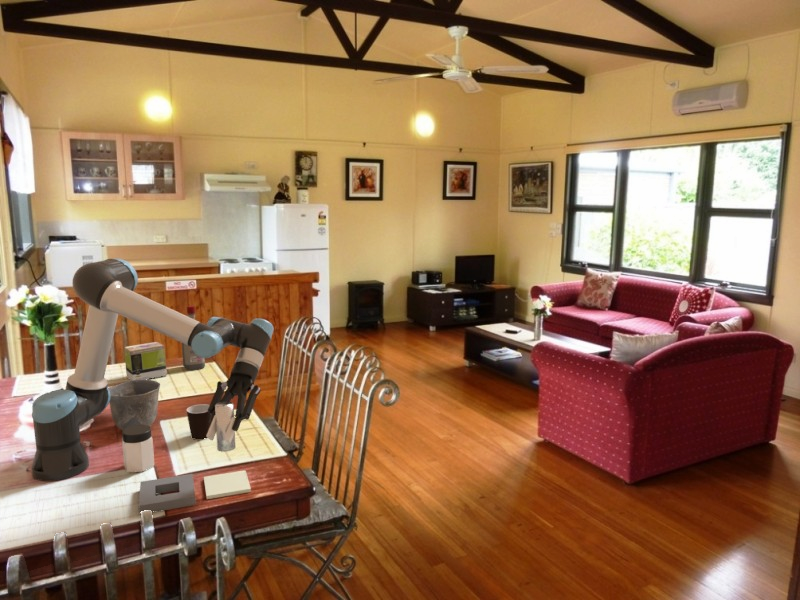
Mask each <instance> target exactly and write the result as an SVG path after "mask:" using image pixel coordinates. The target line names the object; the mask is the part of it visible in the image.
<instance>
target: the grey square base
mask: <svg viewBox="0 0 800 600" xmlns="http://www.w3.org/2000/svg"><path fill="white" fill-rule="evenodd" d="M139 485H140V486H139V500H138V501H139V502H138V514H139V513H140V512H141V511H144V510H151V511H152V513H156V512H155V511H157V512H162V511H161V510H163V511H169V510H174V509H180V508H186V507H192V506H196V491H195V482H194V474H193V473H188V474H183V475H177V476H171V477H169V476H168V477H163V478H156V479H150V480H145V481H144V480H143V481H140V484H139ZM174 491H175V492H174ZM177 491H179V492H177ZM171 492H172V493H171ZM156 493H159V495H157V494H156ZM164 493H166V494H164ZM160 494H161V495H160ZM153 511H154V512H153Z"/></svg>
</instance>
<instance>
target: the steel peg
mask: <svg viewBox="0 0 800 600" xmlns="http://www.w3.org/2000/svg"><path fill="white" fill-rule="evenodd" d="M215 414H216V447H217V448H216V449H217V451H219V452H221V453H222V452H223V453H225V452H230V451H233V450H235V449H236V431H235V432H234V435H233V438H232V440H231V443H228V442H227V441H226V440H225V439H224V437H225V435H226V432H227V430H228V427H229V424H230V422H231V419H232V417H235V416H234V415H235V410H234V403H233V402H232V401H230V402H220V403H217V404H216V405H215Z"/></svg>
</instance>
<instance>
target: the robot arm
mask: <svg viewBox="0 0 800 600" xmlns="http://www.w3.org/2000/svg"><path fill="white" fill-rule="evenodd" d="M138 280H139V277H138V273H137V270H135V268H134V266H133V265H132V264H131V263H130V262H129V261H127V260H125V259H122V258H107V259H105V260H99V261H95V262H90V263H89V262H88V263H86V264H83V265H81V266H80V267H79V268H78V269H77V270H76V271H75V273H74V274H73V276H72V289H73V292H74V293H75V295H76V296H77V297H78V298H79V299H80V300H81V301H82V302H83V303H85V304H88V309H87V313H86V319H85V324H84V329H83V332H82V337H81V341H80V346H79V352H78V354H77V355H78V356H77V359H76V364H75V365H76V366H75V369H74V373H72V374H71V375H69V376H68V377H67V380H66V384H65V385H66V386H65V389H56V390H52V391H51V392H46V393H43V394H41V395H39V396H38V397H37V398H35V400H34V401H33V403H32V407H31V409H32V411H31V412H32V413H31V416H32V421H33V430H34V431H33V432H34V439H35V441H34V442H35V453H34V457H33V461H32V464H31V476H32V478H33V479H35V480H38V481H45V482H46V481H47V482H51V481H61V480H64V479H69V478H73V477H74V476H77V475H79V474H81V473H83V472H85V471H86V470H87V469H89V466H90V461H89V456H88V453H87V452H86V450H85V447H84V446H83V444H82V441H81V433H80V430H81V429H80V427H81V426H82V425H84V424H86V423H87V422H89V421H91V420H93V419H95V417H98V416H99V415H100V414H102V413H103V412H104V410H105V409H106V408H107V407H108V406H109V405H110V390H108V388H109V387H108V385H109V384H108V383H109V382H108V380H107V379H106V378H105V376H106V375H105V374H106V369H107V365H108V361H109V357H110V352H111V347H112V344H113V340H114V335H115V331H116V327H117V322H118V318H119V315H120V316H121V317H124V318H126V319H129V320H131V321H133V322H135V323H137V324H139V325H142V326H143V327H146V328H148V329H151V330H153V331H155V332H158V333H159V334H162V335H163V336H166V337H168V338H171V339H173V340H174V341H177V342H179V343H181V344H182V343H183V344H186V345H188V346H190V347H192V350H193V352H194V353H195V354H196V355H197V356H199V357H201V358H205V359H209V358H211V357H213V356H216V355H218V354H219V353H220V352H221V351H222V350H224V349H225V348H227V347H228V346H233V347H236V348H240V350H239V351H238V354H237V355H236V359H235V362H234V364H233V366H232V369H231V371H230V376H229V378H228V379H227V380H226V381H220V380H219V381H217V382H216V389H215V392H214V394H213V397H212V398H211V401H210V404H209V405H210V406H209V408H208V412H209V413H210V414H211V415H212V417H211V420H210V422H209V426H210V428H209V431H208V433H207V435H206V437H207V438H206V439H208V440H210V441H214V439H215V436H216V435H217V433H216V414H215V405H216V404H217V403H220V402H231V400H233V399H234V398H235V396H237V402H236V409H235V414H234V417H232V419H231V422H230V424H229V427H228V430H227V432H226V435H225V437H224V439H225V440H226V441H227V442H228V443H231V440H232V438H233V435H234V432H235V433H236V432H238V430H239V428H240V426H241V423H242V421H244V420H247V421H249V419H250V416H251V414H252V411H253V408H254V406H255V403H256V400H257V398H258V396H259V394H260V393H261V392H262V389H261V387H259V385H257V384H256V385H255V382H256V379H257V378H258V377H257V376H258V374H259V371H260V369H261V366H262V363H263V361H264V358H265V355H266V352H267V350H268V348H269V346H270V342H271V341H272V337H273V333H274V329H275V328H274V325H273V324H272V323H271V322H270V321H268V320H266V319H264V318H260V317H259V318H253V319H252V320H251V321H250V323H243V322H241V321H235V320H232V319H228V318H224V317H219V316H212V317H210V318H209V320H208V321H207V322H206V324H205V323H202V322H200V321H198V320H196V319H195V320H194V319H192V318H190V317H188V315H185V314H183V313H181V312H179V311H176V310H175V309H172V308H170V307H168V306H166V305H163V304H162V303H159V302H157V301H155V300H152V299H150V298H148V297H146V296H144V295H142V294H141V293H140V294H139V293H137V292H135V291H134V290H135V289H136V287H137V286H138ZM248 392H249V394H248ZM247 395H248V396H247Z"/></svg>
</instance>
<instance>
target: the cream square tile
mask: <svg viewBox="0 0 800 600" xmlns="http://www.w3.org/2000/svg"><path fill="white" fill-rule="evenodd" d="M203 482H204V488H205V489H204V491H205V496H206V500H211V499H216V498H222V497H229V496H235V495H241V494H246V493H251V492H252V488H251V485H250V481H249V477H248V474H247V471H246V470H244V469H243V470H239V471H231V472H226V473H220V474H212V475H207V476H203Z"/></svg>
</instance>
